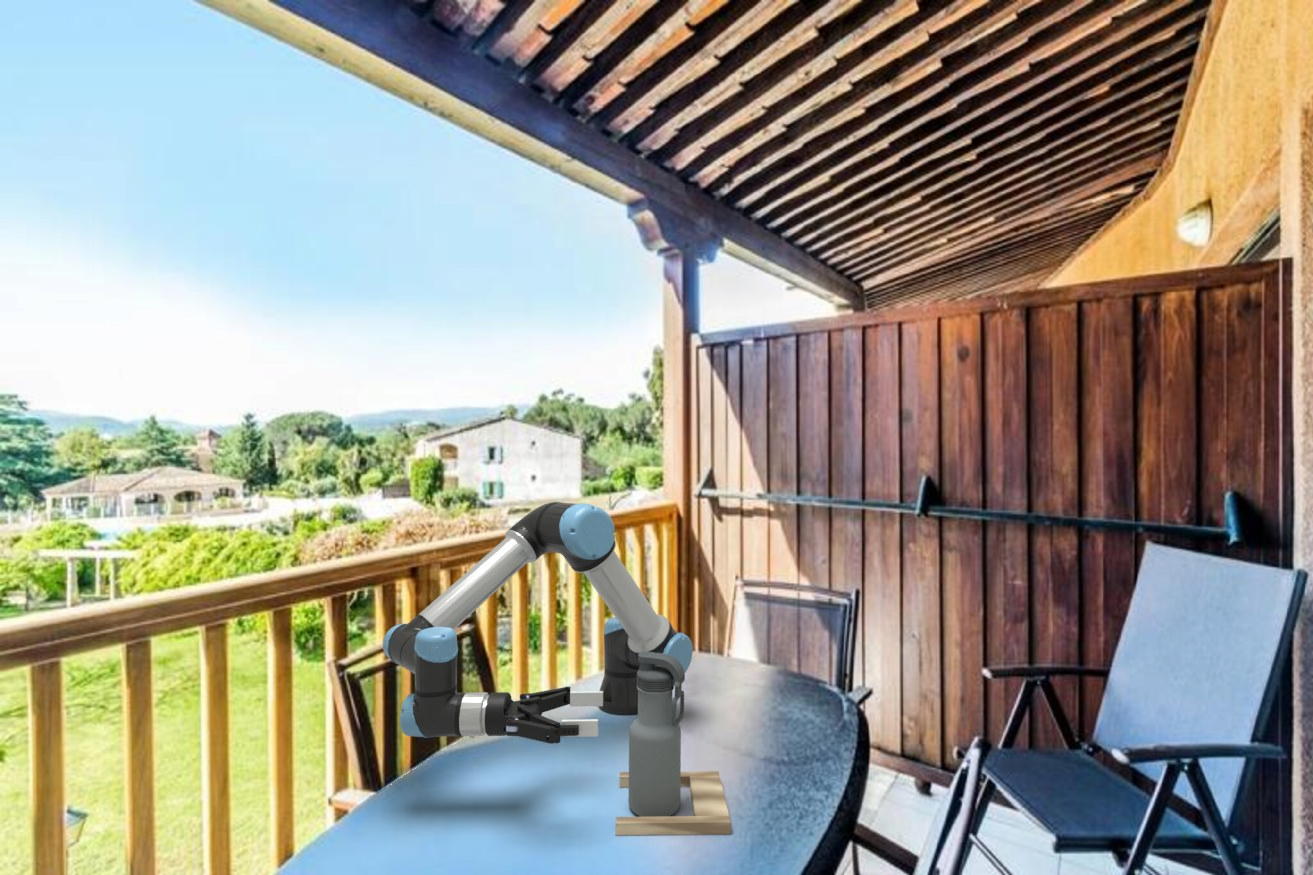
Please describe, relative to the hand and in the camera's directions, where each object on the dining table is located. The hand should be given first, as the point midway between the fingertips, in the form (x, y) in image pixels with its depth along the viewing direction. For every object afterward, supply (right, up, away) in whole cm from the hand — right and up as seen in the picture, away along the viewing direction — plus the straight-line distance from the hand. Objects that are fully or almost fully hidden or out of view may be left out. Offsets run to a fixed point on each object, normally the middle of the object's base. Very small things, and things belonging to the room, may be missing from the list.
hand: (600, 712), depth 118 cm
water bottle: (+10, -18, -1) cm, 20 cm away
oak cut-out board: (+13, -17, -1) cm, 22 cm away
